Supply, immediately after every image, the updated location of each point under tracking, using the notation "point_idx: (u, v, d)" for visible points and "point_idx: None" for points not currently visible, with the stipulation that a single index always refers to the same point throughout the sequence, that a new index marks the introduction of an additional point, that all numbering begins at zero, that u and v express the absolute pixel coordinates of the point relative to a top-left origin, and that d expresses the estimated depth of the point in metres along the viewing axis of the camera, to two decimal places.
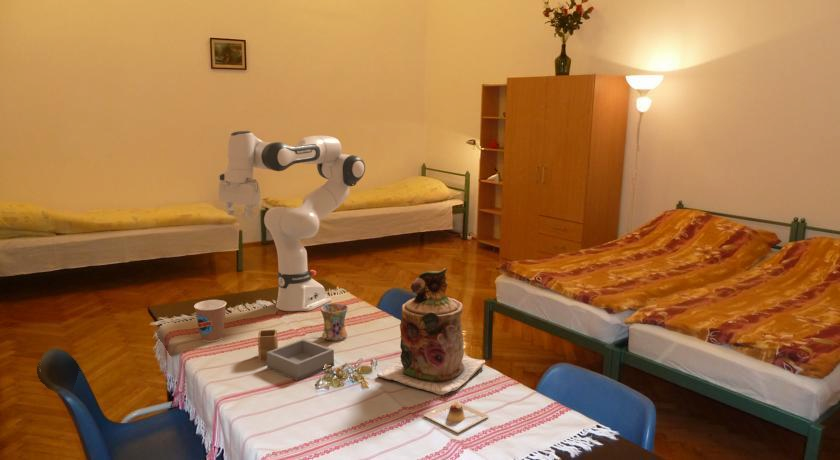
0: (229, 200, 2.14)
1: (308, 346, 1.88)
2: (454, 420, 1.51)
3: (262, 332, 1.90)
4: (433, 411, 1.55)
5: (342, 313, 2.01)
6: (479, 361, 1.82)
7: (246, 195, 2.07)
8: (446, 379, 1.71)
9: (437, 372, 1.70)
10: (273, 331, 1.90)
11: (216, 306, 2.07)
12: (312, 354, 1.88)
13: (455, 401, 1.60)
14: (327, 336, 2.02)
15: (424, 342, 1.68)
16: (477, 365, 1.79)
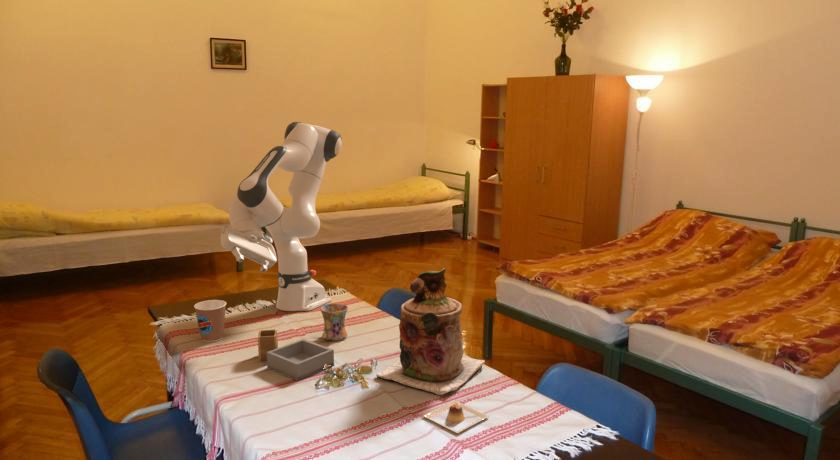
0: None
1: (308, 346, 1.88)
2: (454, 421, 1.50)
3: (262, 332, 1.90)
4: (433, 412, 1.54)
5: (342, 313, 2.01)
6: (478, 361, 1.82)
7: None
8: (445, 379, 1.71)
9: (436, 372, 1.70)
10: (273, 331, 1.90)
11: (216, 306, 2.07)
12: (312, 354, 1.88)
13: (455, 402, 1.60)
14: (327, 336, 2.02)
15: (423, 342, 1.68)
16: (476, 365, 1.79)
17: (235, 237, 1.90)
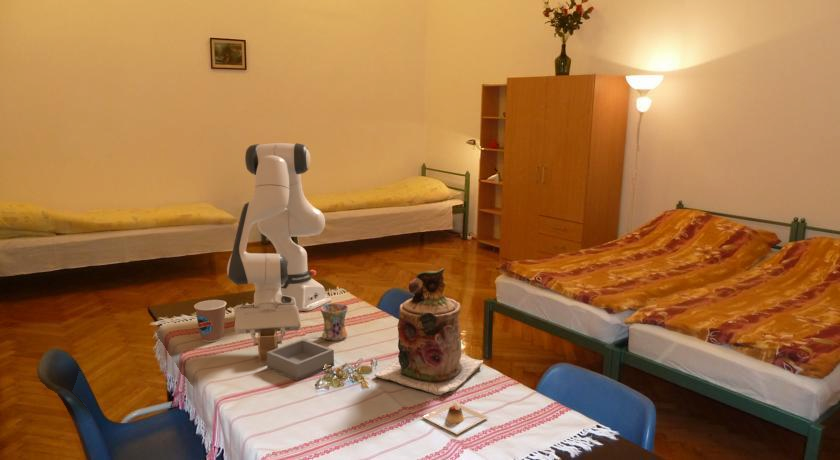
0: None
1: (308, 346, 1.88)
2: (453, 422, 1.50)
3: (262, 332, 1.90)
4: (432, 413, 1.54)
5: (342, 313, 2.01)
6: (477, 361, 1.82)
7: None
8: (443, 379, 1.71)
9: (434, 372, 1.70)
10: (273, 331, 1.90)
11: (216, 306, 2.07)
12: (312, 354, 1.88)
13: (454, 402, 1.59)
14: (327, 336, 2.02)
15: (422, 342, 1.68)
16: (475, 365, 1.79)
17: (245, 320, 1.89)
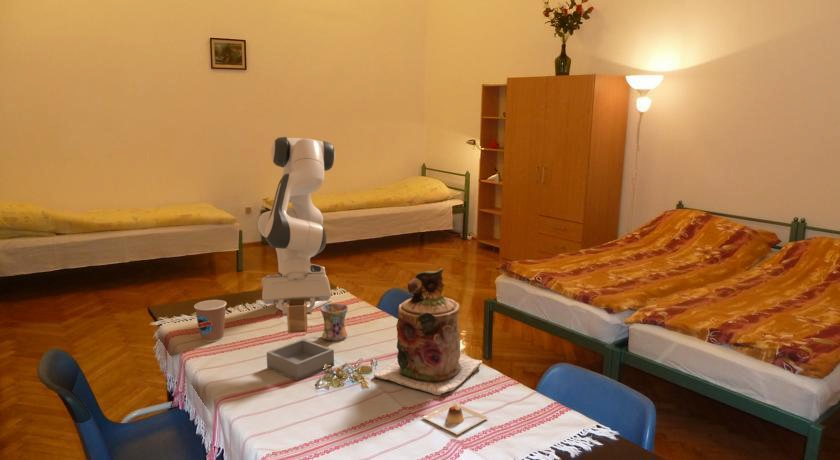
0: None
1: (308, 346, 1.88)
2: (453, 422, 1.50)
3: (291, 302, 1.80)
4: (432, 413, 1.54)
5: (342, 313, 2.01)
6: (476, 361, 1.82)
7: None
8: (442, 379, 1.71)
9: (433, 372, 1.70)
10: (302, 301, 1.81)
11: (216, 306, 2.07)
12: (312, 354, 1.88)
13: (454, 403, 1.59)
14: (327, 336, 2.02)
15: (420, 342, 1.68)
16: (474, 365, 1.79)
17: (273, 289, 1.80)
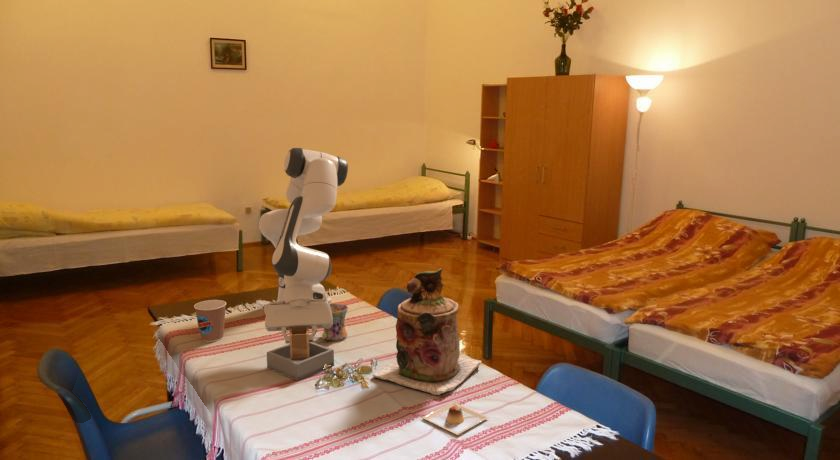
0: None
1: None
2: (453, 422, 1.50)
3: (293, 330, 1.82)
4: (432, 413, 1.54)
5: (342, 313, 2.01)
6: (475, 361, 1.82)
7: None
8: (442, 379, 1.71)
9: (432, 372, 1.70)
10: (304, 329, 1.83)
11: (216, 306, 2.07)
12: (312, 354, 1.88)
13: (453, 403, 1.59)
14: (327, 336, 2.02)
15: (420, 342, 1.68)
16: (473, 365, 1.79)
17: (275, 317, 1.82)
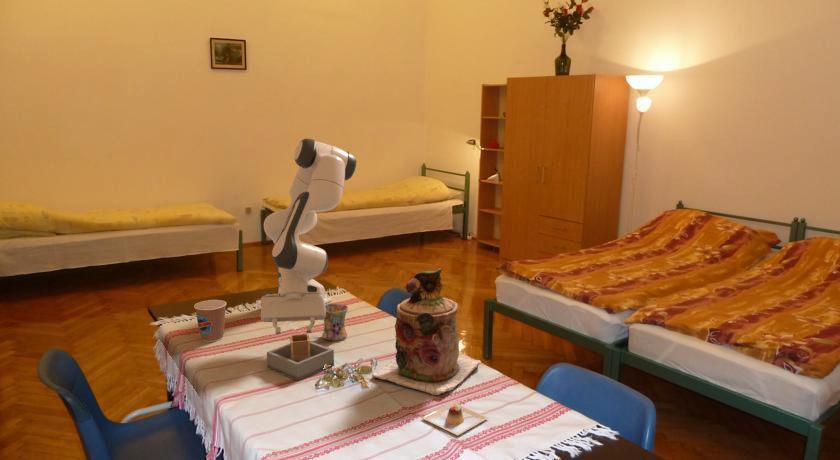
0: None
1: None
2: (453, 423, 1.49)
3: (293, 337, 1.83)
4: (432, 414, 1.53)
5: (342, 313, 2.01)
6: (474, 361, 1.82)
7: None
8: (441, 379, 1.71)
9: (432, 372, 1.70)
10: (305, 336, 1.84)
11: (216, 306, 2.07)
12: (312, 354, 1.88)
13: (453, 403, 1.59)
14: (327, 336, 2.02)
15: (419, 342, 1.68)
16: (472, 365, 1.79)
17: (271, 308, 1.90)
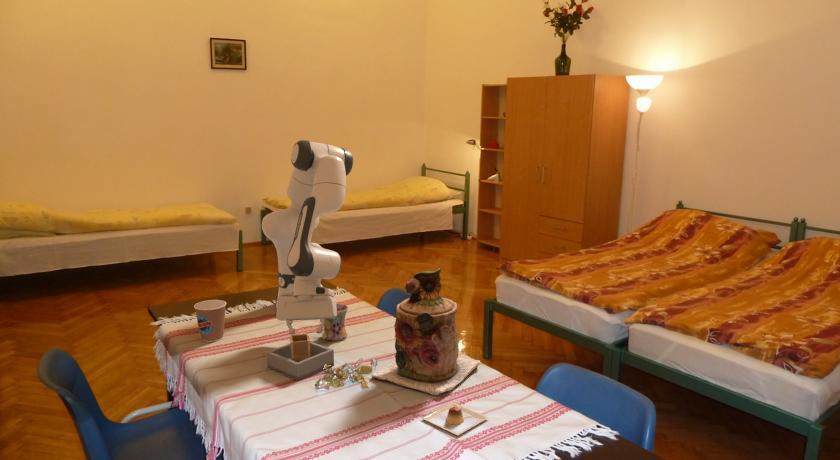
0: None
1: None
2: (453, 423, 1.49)
3: (293, 337, 1.83)
4: (432, 414, 1.53)
5: (342, 313, 2.01)
6: (474, 361, 1.82)
7: None
8: (440, 379, 1.71)
9: (431, 372, 1.70)
10: (305, 336, 1.84)
11: (216, 306, 2.07)
12: (312, 354, 1.88)
13: (453, 403, 1.59)
14: (327, 336, 2.02)
15: (418, 342, 1.68)
16: (472, 365, 1.79)
17: (284, 310, 2.00)
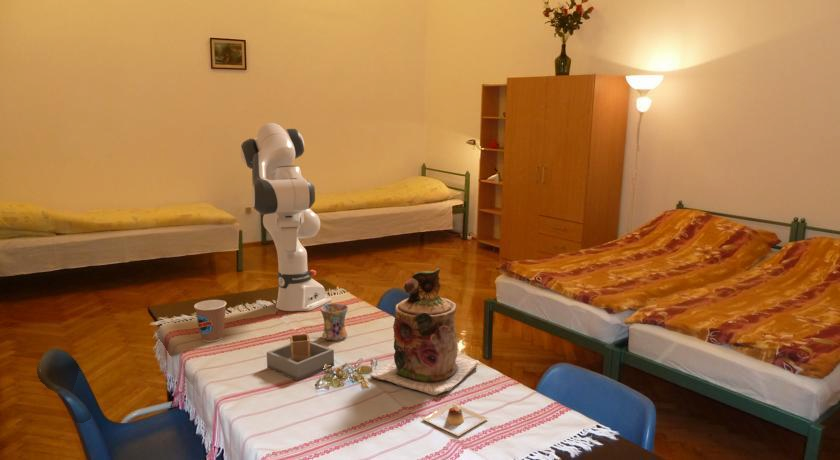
0: None
1: None
2: (453, 423, 1.49)
3: (293, 337, 1.83)
4: (431, 414, 1.53)
5: (342, 313, 2.01)
6: (473, 361, 1.82)
7: None
8: (439, 380, 1.71)
9: (430, 372, 1.70)
10: (305, 336, 1.84)
11: (216, 306, 2.07)
12: (312, 354, 1.88)
13: (453, 404, 1.59)
14: (327, 336, 2.02)
15: (417, 342, 1.68)
16: (471, 365, 1.79)
17: None
